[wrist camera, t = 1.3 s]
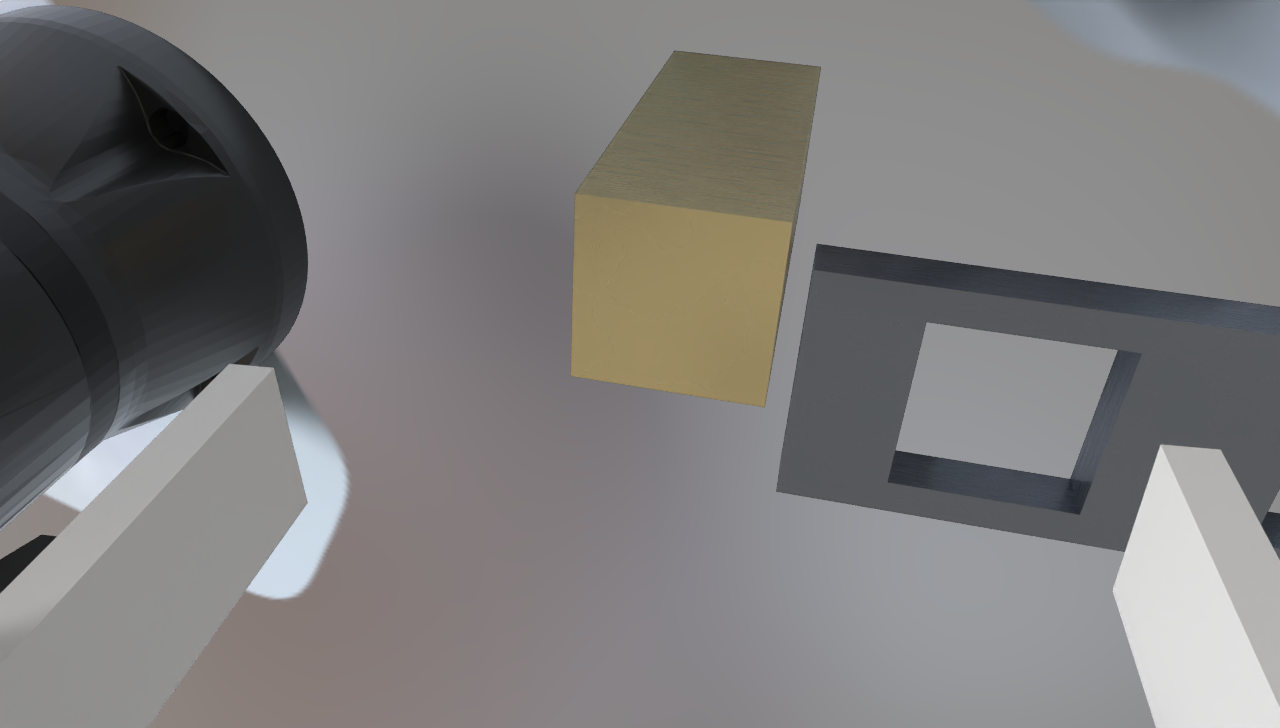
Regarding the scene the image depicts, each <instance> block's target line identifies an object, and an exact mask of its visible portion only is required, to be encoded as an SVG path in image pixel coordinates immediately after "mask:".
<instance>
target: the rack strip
mask: <svg viewBox="0 0 1280 728" xmlns="http://www.w3.org/2000/svg"><path fill="white" fill-rule="evenodd" d="M926 322H930V323H937V324H944V325H951V326H957V327H958V326H959V327H964V328H971V329H978V330H985V331H992V332H999V333H1006V334H1012V335H1020V336H1027V337H1033V338H1040V339H1047V340H1054V341H1061V342H1068V343H1074V344H1082V345H1088V346H1095V347H1102V348H1110V349H1116V350H1118V352H1117V355H1116V357H1115V360H1114V362H1113V365H1112V368H1111V370H1110V373H1109V376H1108V379H1107V382H1106V384H1105V387H1104V390H1103V392H1102V395H1101V398H1100V400H1099V403H1098V406H1097V408H1096V411H1095V414H1094V416H1093V419H1092V422H1091V425H1090V427H1089V430H1088V433H1087V435H1086V438H1085V441H1084V443H1083V446H1082V449H1081V452H1080V454H1079V457H1078V460H1077V462H1076V465H1075V468H1074V470H1073V473H1072V476H1071V479H1065V478H1060V477H1054V476H1047V475H1041V474H1036V473H1030V472H1023V471H1017V470H1011V469H1005V468H999V467H993V466H987V465H980V464H974V463H968V462H963V461H956V460H950V459H944V458H938V457H932V456H926V455H920V454H913V453H908V452H902V451H896V450H895V449H896V445H897V441H898V437H899V432H900V428H901V425H902V420H903V416H904V412H905V408H906V404H907V400H908V396H909V392H910V388H911V383H912V379H913V375H914V371H915V367H916V363H917V359H918V355H919V351H920V347H921V342H922V338H923V334H924V330H925V326H926ZM1160 445H1173V446H1184V447H1196V448H1208V449H1219V450H1221V451H1222V453H1223V455H1224V457H1225V459H1226V461H1227V463H1228V464H1229V466H1230V468H1231V470H1232V472H1233V474H1234V476H1235V477H1236V479H1237V481H1238V483H1239V485H1240V487H1241V489H1242V491H1243V492H1244V494H1245V496H1246V498H1247V500H1248V502H1249V504H1250V506H1251V507H1252V509H1253V511H1254V513H1255V515H1256V517H1257V519H1258V521H1259V522H1260V524H1261V526H1262V528H1263V530H1264V532H1265V534H1266V535H1267V537H1268V539H1269V541H1270V543H1271V545H1272V547H1273V549H1274V550H1275V552H1276V554H1277V556H1278V558H1279V560H1280V514H1279V513H1273V512H1268V510H1269V508H1270V506H1271V504H1272V502H1273V501H1274V499H1275V496H1276V495H1277V493H1278V491H1279V489H1280V307H1275V306H1268V305H1261V304H1253V303H1246V302H1239V301H1232V300H1224V299H1217V298H1209V297H1202V296H1195V295H1188V294H1180V293H1173V292H1165V291H1158V290H1150V289H1144V288H1136V287H1129V286H1122V285H1115V284H1107V283H1100V282H1092V281H1085V280H1078V279H1071V278H1063V277H1056V276H1048V275H1041V274H1034V273H1026V272H1019V271H1012V270H1004V269H997V268H990V267H982V266H975V265H967V264H961V263H953V262H946V261H938V260H931V259H924V258H917V257H910V256H902V255H895V254H888V253H880V252H872V251H866V250H858V249H851V248H844V247H836V246H829V245H821V244H817V247H816V252H815V258H814V264H813V270H812V276H811V282H810V288H809V294H808V300H807V306H806V312H805V318H804V323H803V329H802V335H801V341H800V347H799V353H798V359H797V366H796V371H795V377H794V383H793V390H792V395H791V401H790V408H789V413H788V419H787V426H786V431H785V437H784V443H783V449H782V456H781V462H780V469H779V476H778V483H777V490H776V491H777V492H782V493H788V494H793V495H799V496H806V497H811V498H817V499H822V500H828V501H834V502H840V503H846V504H852V505H857V506H863V507H869V508H875V509H880V510H886V511H892V512H898V513H904V514H909V515H915V516H921V517H927V518H933V519H938V520H944V521H950V522H955V523H961V524H967V525H973V526H979V527H984V528H990V529H997V530H1002V531H1007V532H1013V533H1019V534H1025V535H1031V536H1037V537H1042V538H1048V539H1054V540H1060V541H1065V542H1071V543H1077V544H1083V545H1088V546H1094V547H1101V548H1106V549H1112V550H1117V551H1123V552H1125V551H1126V548H1127V545H1128V542H1129V538H1130V535H1131V532H1132V529H1133V526H1134V523H1135V520H1136V517H1137V514H1138V511H1139V508H1140V505H1141V502H1142V499H1143V496H1144V493H1145V490H1146V487H1147V484H1148V481H1149V478H1150V475H1151V472H1152V469H1153V466H1154V463H1155V460H1156V457H1157V454H1158V451H1159V448H1160Z"/></svg>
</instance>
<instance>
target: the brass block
mask: <svg viewBox="0 0 1280 728" xmlns="http://www.w3.org/2000/svg"><path fill="white" fill-rule="evenodd" d="M820 70H821V67H817V66H808V65H800V64H790V63H782V62H772V61H763V60H754V59H746V58H737V57H736V58H735V57H727V56H718V55H710V54H701V53H691V52H683V51H674V52H673V54H672V55H671V56H670V58H669V59H668V61H667V62H666V64H665V65H664V67H663V68H662V69H661V71H660V72H659V74H658V75H657V76H656V78H655V79H654V81H653V82H652V84H651V85H650V87H649V88H648V89H647V91H646V92H645V94H644V95H643V97H642V98H641V99H640V101H639V102H638V104H637V105H636V107H635V108H634V109H633V111H632V112H631V114H630V115H629V117H628V118H627V120H626V121H625V122H624V124H623V125H622V127H621V128H620V130H619V131H618V133H617V134H616V135H615V137H614V138H613V140H612V141H611V142H610V144H609V146H608V147H607V148H606V150H605V151H604V153H603V154H602V155H601V157H600V158H599V160H598V161H597V163H596V164H595V165H594V167H593V168H592V170H591V171H590V173H589V174H588V176H587V177H586V178H585V180H584V181H583V183H582V184H581V186H580V187H579V188H578V190H577V191H576V193H575V211H574V255H573V260H574V261H573V299H572V343H571V344H572V345H571V376H574V377H580V378H586V379H593V380H598V381H605V382H611V383H617V384H623V385H630V386H636V387H642V388H648V389H655V390H660V391H667V392H673V393H679V394H686V395H691V396H698V397H704V398H710V399H716V400H722V401H729V402H735V403H741V404H747V405H754V406H760V407H765V403H766V397H767V391H768V385H769V380H770V374H771V368H772V362H773V356H774V351H775V345H776V339H777V333H778V327H779V322H780V316H781V310H782V304H783V299H784V293H785V287H786V281H787V276H788V270H789V264H790V258H791V253H792V247H793V241H794V235H795V229H796V224H797V218H798V212H799V206H800V199H801V194H802V187H803V180H804V174H805V168H806V161H807V154H808V148H809V141H810V135H811V128H812V122H813V115H814V109H815V102H816V96H817V89H818V83H819V76H820Z"/></svg>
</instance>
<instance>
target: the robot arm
mask: <svg viewBox="0 0 1280 728" xmlns="http://www.w3.org/2000/svg"><path fill="white" fill-rule="evenodd" d="M307 271H308V253H307V243H306V235H305V230H304V224H303V220H302V216H301V212H300V209H299V205H298V202H297V199H296V196H295V193H294V191H293V188H292V186H291V183H290V181H289V179H288V176H287V174H286V172H285V170H284V168H283V166H282V164H281V162H280V160H279V158H278V157H277V155H276V153H275V151H274V149H273V148H272V146H271V145H270V143H269V141H268V140H267V138H266V137H265V135H264V134H263V132H262V131H261V129H260V128H259V126H258V125H257V124H256V122H255V121H254V120H253V118H252V117H251V116H250V115H249V113H248V112H247V111H246V109H244V107H243V106H242V105H241V104H240V103H239V101H238V100H237V99H236V98H235V97H234V96H233V95H232V94H231V93H230V92H229V91H228V90H227V89H226V87H225V86H223V84H222V83H221V82H219V81H218V80H217V79H216V78H215V77H214V76H213V75H212V74H211V73H210V72H209V71H207V70H206V69H205V68H204V67H202V66H201V65H200V64H199V63H197V62H196V61H195V60H194V59H192V58H191V57H190V56H188V55H187V54H186V53H184V52H183V51H182V50H180V49H179V48H177V47H175V46H174V45H172V44H171V43H169V42H168V41H166V40H165V39H163V38H161V37H159V36H157V35H155V34H154V33H152V32H150V31H148V30H146V29H144V28H142V27H140V26H138V25H135V24H133V23H131V22H128V21H126V20H123V19H121V18H118V17H115V16H112V15H109V14H106V13H103V12H99V11H94V10H90V9H85V8H79V7H72V6H59V5H48V6H35V7H28V8H23V9H18V10H15V11H11V12H8V13H4V14H1V15H0V531H1V530H2V529H4V528H5V527H6V526H7V525H8V524H9V523H10V522H11V521H13V520H14V519H15V518H16V517H17V516H18V515H19V514H20V513H21V512H23V511H24V510H25V509H26V508H27V507H28V506H29V505H31V504H32V502H34V501H35V500H36V499H37V498H38V497H40V496H41V495H42V494H43V493H44V492H45V491H46V490H47V489H49V488H50V487H51V486H52V485H53V484H54V483H55V482H56V481H57V480H59V479H60V478H61V477H62V476H63V475H64V474H65V473H66V472H68V471H69V470H70V469H71V468H72V467H73V466H74V465H75V464H76V463H77V462H79V461H80V460H81V459H82V458H83V457H84V456H85V455H87V454H88V453H89V452H90V451H91V450H92V449H93V448H95V447H96V446H97V445H98V444H100V443H101V442H102V441H103V440H105V439H108V438H110V437H113V436H115V435H118V434H121V433H123V432H126V431H128V430H131V429H134V428H136V427H139V426H141V425H144V424H146V423H149V422H152V421H154V420H157V419H159V418H162V417H165V416H167V415H170V414H172V413H175V412H178V411H180V410H183V409H184V410H183V411H182V412H181V413H180V414H179V415H178V416H177V417H176V418H175V419H174V420H173V421H172V422H171V423H170V424H169V425H168V426H167V427H166V428H165V429H164V430H163V431H162V432H161V433H160V434H159V435H158V436H157V437H156V438H155V439H154V440H153V441H152V442H151V443H150V444H149V445H148V446H147V447H146V448H145V449H144V450H143V451H142V452H141V453H140V454H139V455H138V456H137V457H136V458H135V459H134V460H133V461H132V462H131V463H130V464H129V465H128V466H127V467H126V468H125V469H124V470H123V471H122V472H121V473H120V474H119V475H118V476H117V477H116V478H115V479H114V480H113V481H112V482H111V483H110V484H109V485H108V486H107V487H106V488H105V489H104V490H103V491H102V492H101V493H100V494H99V495H98V496H97V497H96V498H95V499H94V500H93V501H92V502H91V503H90V504H89V505H88V506H87V507H86V508H85V509H84V510H83V511H82V512H81V513H80V514H79V515H78V516H77V517H76V518H75V519H74V520H73V521H72V522H71V523H70V524H69V525H68V526H67V527H66V528H65V529H64V530H63V531H62V532H61V533H60V534H59V535H58V536H47V535H40V536H39V537H37V538H35V539H34V540H32V541H30V542H29V543H27V544H25V545H24V546H22V547H20V548H19V549H17V550H15V551H14V552H12V553H10V554H9V555H7V556H5V557H4V558H2V559H1V560H0V728H148V727H149V726H150V724H151V723H152V721H153V720H154V719H155V717H156V716H157V714H158V713H159V712H160V710H161V708H162V707H163V706H164V704H165V703H166V701H167V700H168V699H169V697H170V696H171V695H172V693H173V691H174V690H175V689H176V687H177V686H178V685H179V683H180V682H181V680H182V679H183V677H184V676H185V675H186V673H187V672H188V671H189V669H190V668H191V666H192V665H193V664H194V662H195V661H196V659H197V658H198V657H199V655H200V654H201V652H202V651H203V649H204V648H205V647H206V645H207V644H208V642H209V641H210V640H211V638H212V637H213V635H214V633H216V631H217V630H218V628H219V627H220V625H221V624H222V623H223V621H224V620H225V618H226V617H227V615H228V614H229V613H230V611H231V610H232V609H233V607H234V606H235V604H236V603H237V602H238V600H239V599H240V597H241V596H242V595H243V593H244V592H245V590H246V589H247V588H248V586H249V585H250V583H251V582H252V580H253V579H254V578H255V576H256V575H257V573H258V572H259V571H260V569H261V568H262V566H263V565H264V564H265V562H266V561H267V559H268V558H269V557H270V555H271V554H272V552H273V551H274V549H275V548H276V547H277V545H278V544H279V542H280V541H281V540H282V538H283V537H284V535H285V534H286V533H287V531H288V530H289V528H290V527H291V526H292V524H293V523H294V521H295V520H296V518H297V517H298V516H299V514H300V513H301V511H302V510H303V509H304V507H305V506H306V504H307V503H308V502H307V498H306V494H305V490H304V486H303V482H302V478H301V474H300V470H299V466H298V462H297V458H296V454H295V450H294V446H293V442H292V438H291V434H290V430H289V427H288V423H287V419H286V415H285V411H284V407H283V403H282V399H281V395H280V391H279V387H278V383H277V379H276V375H275V371H274V368H271V367H259V365H260V364H261V363H262V362H263V361H264V360H265V359H266V358H267V357H268V356H269V355H270V354H271V353H272V352H273V351H274V350H275V349H276V348H277V347H278V346H279V345H280V343H281V342H282V341H283V340H284V338H285V337H286V336H287V334H288V333H289V331H290V330H291V327H292V326H293V325H294V322H295V321H296V318H297V316H298V314H299V311H300V308H301V305H302V302H303V298H304V294H305V289H306V282H307ZM1112 591H1113V594H1114V597H1115V600H1116V603H1117V606H1118V610H1119V612H1120V616H1121V619H1122V622H1123V625H1124V629H1125V631H1126V635H1127V638H1128V641H1129V644H1130V647H1131V650H1132V653H1133V657H1134V660H1135V663H1136V666H1137V669H1138V673H1139V676H1140V679H1141V682H1142V685H1143V688H1144V691H1145V695H1146V698H1147V701H1148V704H1149V707H1150V711H1151V714H1152V717H1153V720H1154V723H1155V726H1156V728H1280V560H1279V558H1278V556H1277V554H1276V552H1275V550H1274V549H1273V547H1272V545H1271V543H1270V541H1269V539H1268V537H1267V535H1266V534H1265V532H1264V530H1263V528H1262V526H1261V524H1260V522H1259V521H1258V519H1257V517H1256V515H1255V513H1254V511H1253V509H1252V507H1251V506H1250V504H1249V502H1248V500H1247V498H1246V496H1245V494H1244V492H1243V491H1242V489H1241V487H1240V485H1239V483H1238V481H1237V479H1236V477H1235V476H1234V474H1233V472H1232V470H1231V468H1230V466H1229V464H1228V463H1227V461H1226V459H1225V457H1224V455H1223V453H1222V451H1221V450H1219V449H1208V448H1196V447H1184V446H1173V445H1160V448H1159V451H1158V454H1157V457H1156V460H1155V463H1154V466H1153V469H1152V472H1151V475H1150V478H1149V481H1148V484H1147V487H1146V490H1145V493H1144V496H1143V499H1142V502H1141V505H1140V508H1139V511H1138V514H1137V517H1136V520H1135V523H1134V526H1133V529H1132V532H1131V535H1130V538H1129V542H1128V545H1127V548H1126V551H1125V554H1124V557H1123V560H1122V563H1121V566H1120V569H1119V572H1118V575H1117V578H1116V581H1115V584H1114V587H1113V590H1112Z"/></svg>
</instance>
